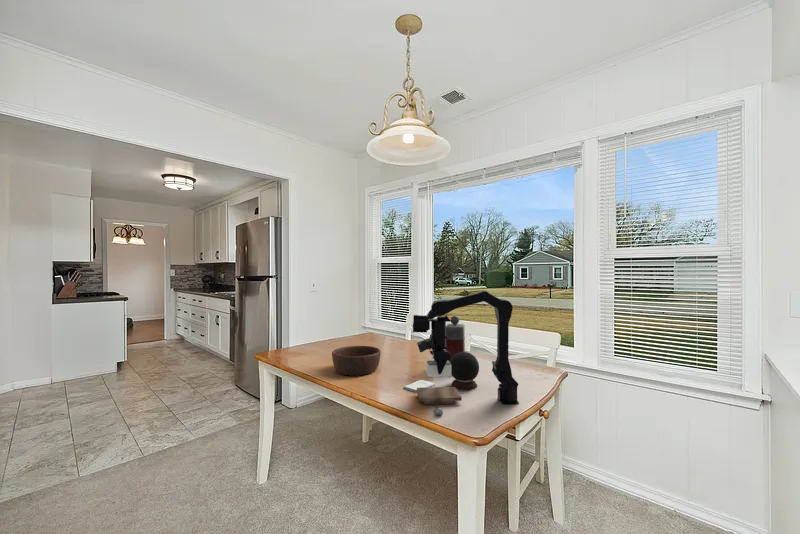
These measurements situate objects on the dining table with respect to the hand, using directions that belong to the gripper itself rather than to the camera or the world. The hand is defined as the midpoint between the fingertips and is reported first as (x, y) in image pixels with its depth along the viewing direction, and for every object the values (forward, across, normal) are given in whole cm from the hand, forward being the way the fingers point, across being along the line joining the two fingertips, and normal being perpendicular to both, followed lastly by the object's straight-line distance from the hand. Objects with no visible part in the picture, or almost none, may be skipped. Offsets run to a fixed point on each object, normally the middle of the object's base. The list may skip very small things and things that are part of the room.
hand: (438, 372), depth 137 cm
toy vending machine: (+11, -40, +15) cm, 45 cm away
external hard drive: (+12, -16, -6) cm, 21 cm away
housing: (+1, 0, 0) cm, 1 cm away
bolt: (+11, +12, -2) cm, 16 cm away
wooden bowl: (+12, -43, -36) cm, 58 cm away
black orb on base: (+11, -16, +14) cm, 24 cm away
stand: (+11, 0, 0) cm, 11 cm away
